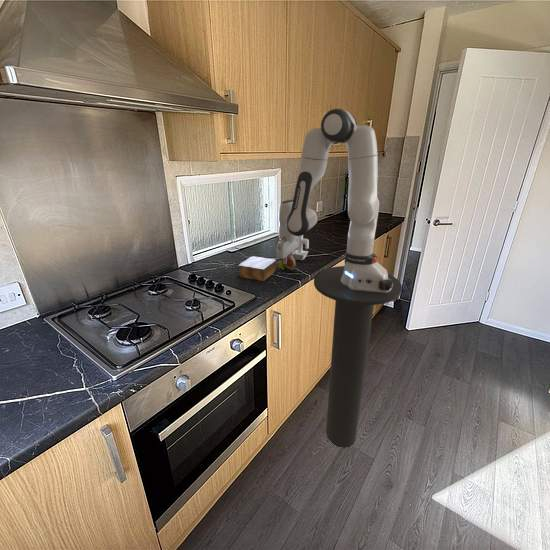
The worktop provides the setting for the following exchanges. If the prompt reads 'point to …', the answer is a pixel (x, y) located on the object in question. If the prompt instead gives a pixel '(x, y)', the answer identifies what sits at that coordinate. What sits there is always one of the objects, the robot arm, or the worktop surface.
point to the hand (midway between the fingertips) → (287, 261)
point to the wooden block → (257, 268)
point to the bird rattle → (290, 263)
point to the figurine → (301, 249)
